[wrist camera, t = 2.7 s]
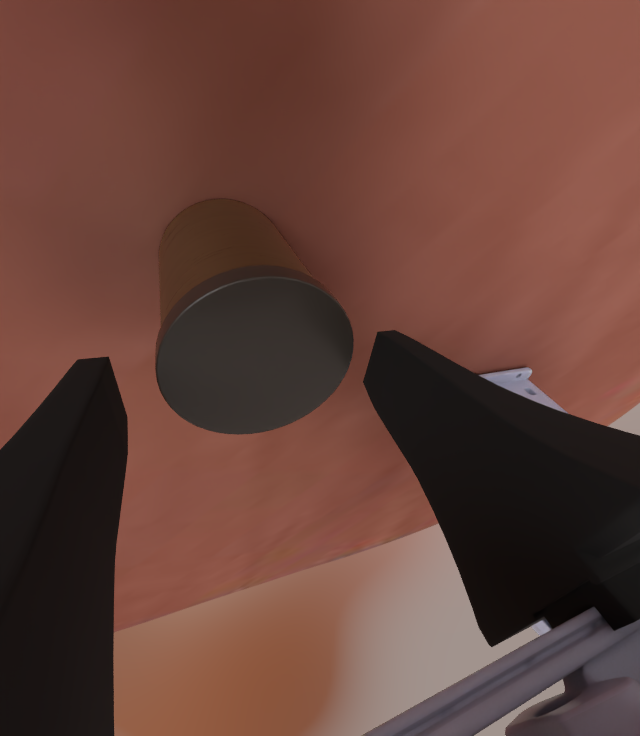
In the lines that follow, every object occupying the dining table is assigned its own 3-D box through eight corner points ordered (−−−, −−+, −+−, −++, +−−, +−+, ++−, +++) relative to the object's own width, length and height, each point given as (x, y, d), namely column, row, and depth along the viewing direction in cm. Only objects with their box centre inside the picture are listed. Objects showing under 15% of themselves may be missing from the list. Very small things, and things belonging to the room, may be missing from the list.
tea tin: (293, 198, 14) (373, 274, 9) (283, 316, 17) (337, 418, 12) (142, 189, 12) (135, 280, 7) (164, 323, 15) (171, 449, 10)
